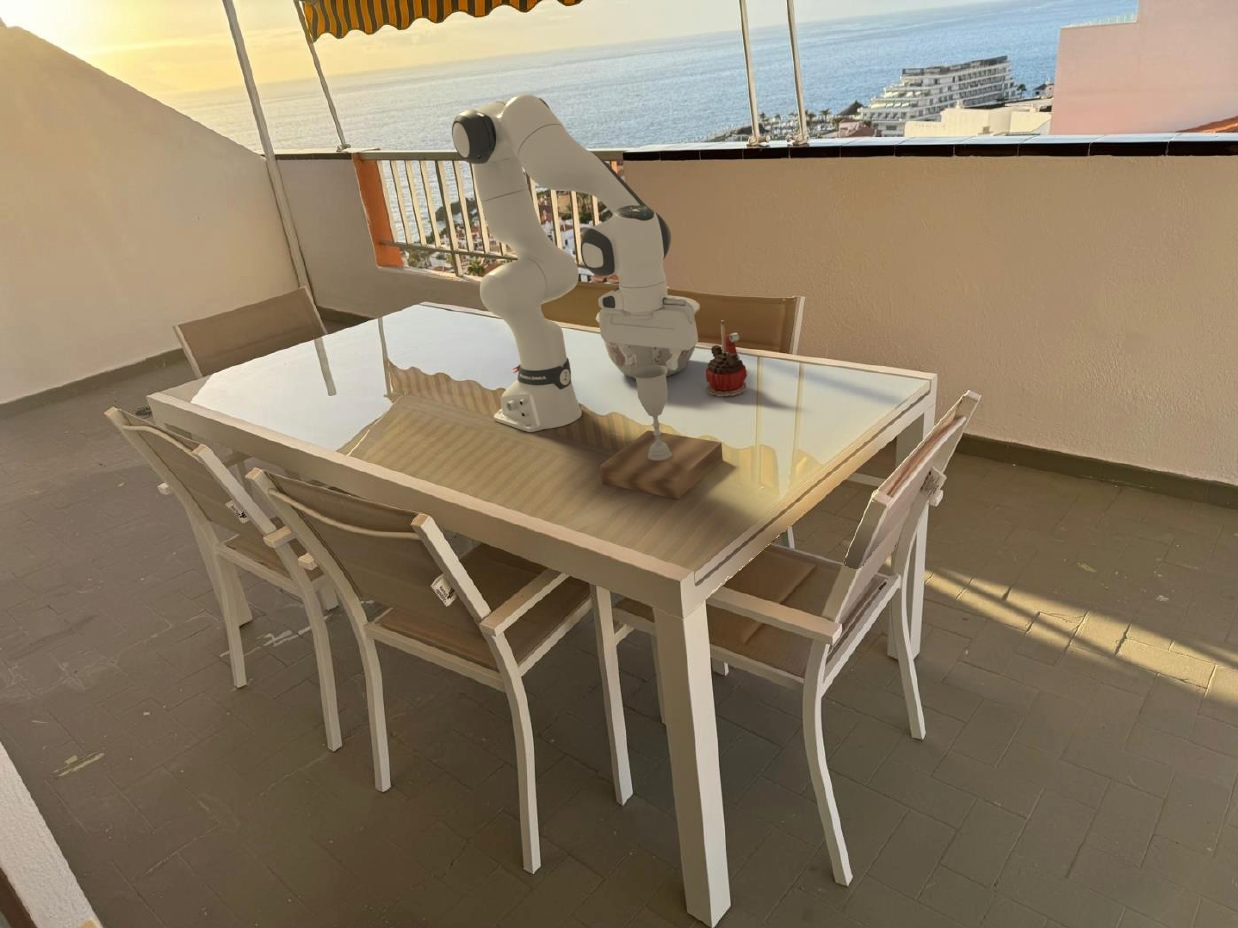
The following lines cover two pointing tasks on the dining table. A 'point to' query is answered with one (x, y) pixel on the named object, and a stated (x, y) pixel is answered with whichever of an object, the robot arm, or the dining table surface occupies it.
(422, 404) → the dining table surface
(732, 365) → the cake
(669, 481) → the plinth
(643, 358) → the chamber pot
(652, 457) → the chalice
